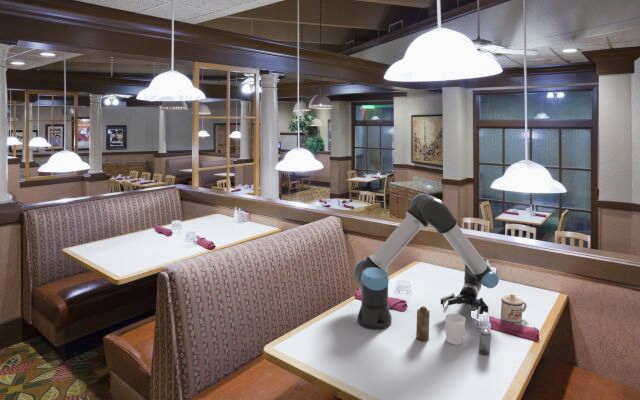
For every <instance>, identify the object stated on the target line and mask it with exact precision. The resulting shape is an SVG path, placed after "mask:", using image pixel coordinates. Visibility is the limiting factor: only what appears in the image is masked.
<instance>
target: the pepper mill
mask: <svg viewBox="0 0 640 400" xmlns="http://www.w3.org/2000/svg"><path fill="white" fill-rule="evenodd" d="M430 312H431V311H430V310H429V309H427V307H426V306H423V305H422V306H420V307H419V308H418V309H417V310H416V332H415V333H416V334H415V336H416V337H415V338H416V340H417V341H418V342H419V341H420V342H427V341H429V340H430V339H429V338H430V315H431V313H430Z"/></svg>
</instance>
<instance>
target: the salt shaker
mask: <svg viewBox="0 0 640 400" xmlns="http://www.w3.org/2000/svg"><path fill="white" fill-rule="evenodd" d="M491 339H492V333H491V330H490V329H488V328H481V329H480V331H479V341H478V342H479V343H478V353H479V354H480V355H483V356H489V355H490V354H491V353H490V352H491V341H492V340H491Z"/></svg>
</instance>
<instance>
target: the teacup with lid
mask: <svg viewBox="0 0 640 400" xmlns="http://www.w3.org/2000/svg"><path fill="white" fill-rule="evenodd" d="M500 307H501V308H500V318H501V319H502V320H503V321H505V320H506V321H505V322H507V321H510V322H509V323H512V322H514V324H517V323H520V322H522V318H523V313H524V312H525V311H526V310H527V307H528V306H527V303H525V301H524V300H523V299H522V298H520V297H518V296H516V294H515V293H510V294H509V295H504V296H502V297H501V305H500Z"/></svg>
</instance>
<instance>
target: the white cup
mask: <svg viewBox="0 0 640 400" xmlns="http://www.w3.org/2000/svg"><path fill="white" fill-rule="evenodd" d="M444 318H445V319H444V320H445V321H444V323H445V325H444V331H445V333H444V334H445V341H446V343H449V344H452V345H456V346H457V345H461V344H463V342H464V336H465V328H466V321H467V319H466V317H465V316H463V315H462V314H459V313H448V314H445V316H444Z"/></svg>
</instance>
